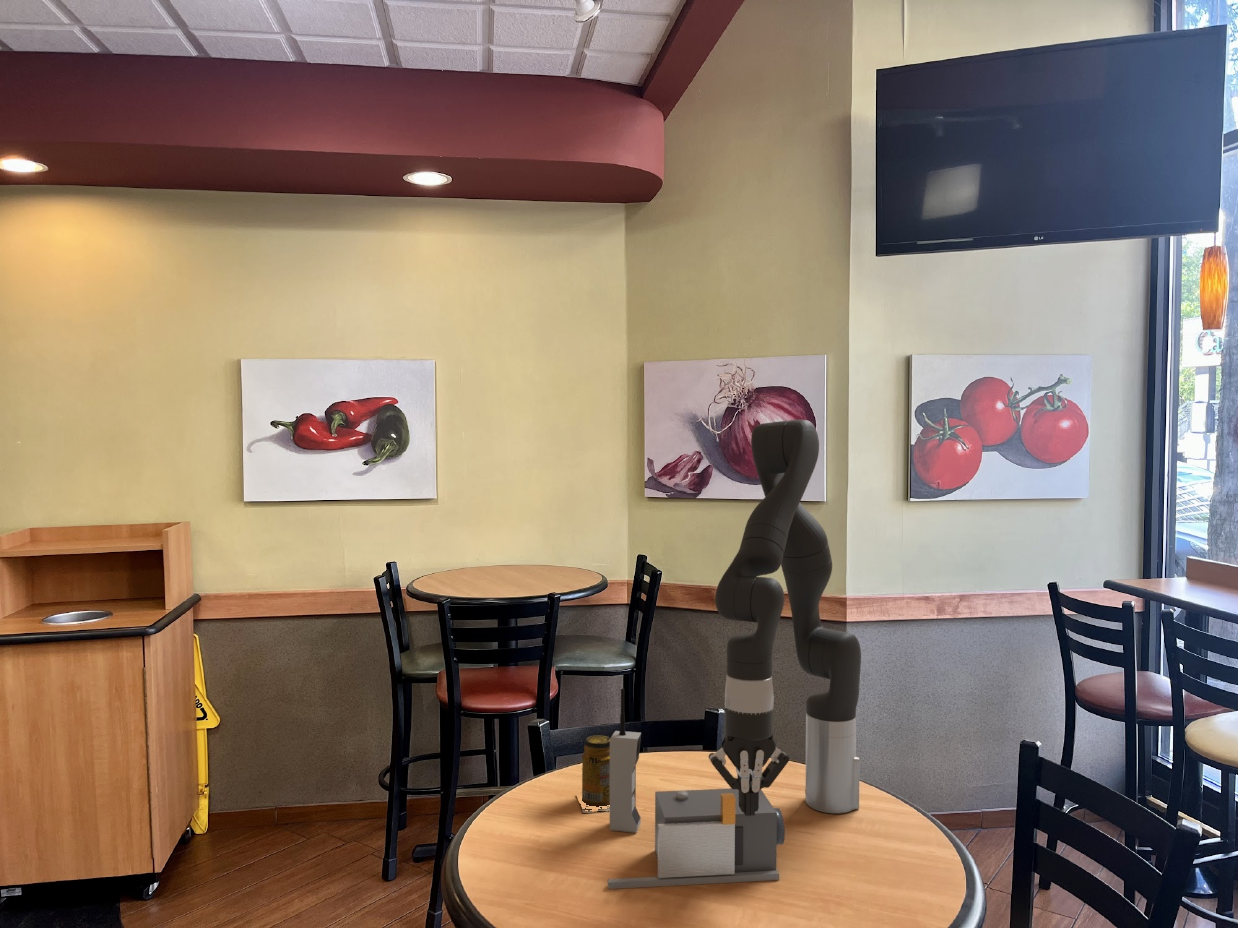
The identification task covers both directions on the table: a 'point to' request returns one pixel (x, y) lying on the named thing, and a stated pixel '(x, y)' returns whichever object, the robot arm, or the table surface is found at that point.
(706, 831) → the side door
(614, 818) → the vintage mobile phone
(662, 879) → the grey box machine
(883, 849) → the table surface
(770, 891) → the table surface
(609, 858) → the table surface
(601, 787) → the yellow drink can
